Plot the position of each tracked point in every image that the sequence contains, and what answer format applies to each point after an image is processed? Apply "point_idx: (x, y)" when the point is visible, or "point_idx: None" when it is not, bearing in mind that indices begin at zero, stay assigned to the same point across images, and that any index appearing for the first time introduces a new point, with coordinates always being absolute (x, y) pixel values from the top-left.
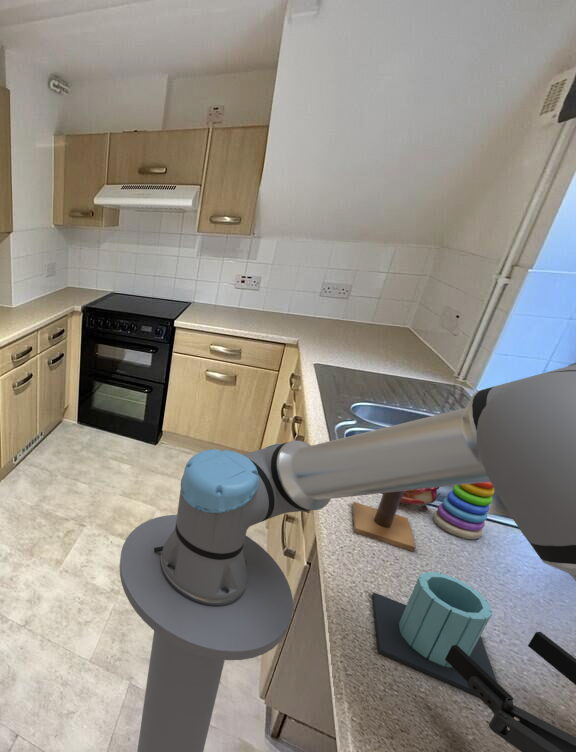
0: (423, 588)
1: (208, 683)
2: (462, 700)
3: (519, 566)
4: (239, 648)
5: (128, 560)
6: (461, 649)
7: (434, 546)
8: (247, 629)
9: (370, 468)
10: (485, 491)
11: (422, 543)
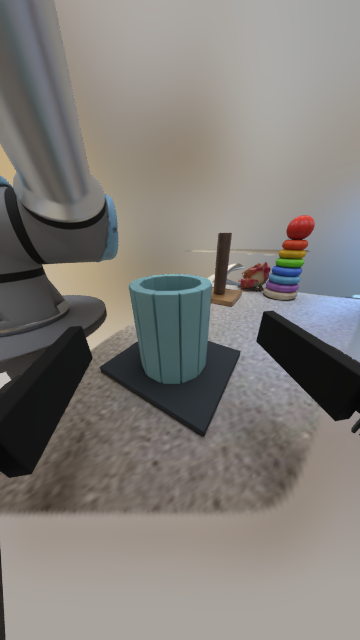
0: (134, 280)
1: None
2: (148, 426)
3: (319, 311)
4: None
5: None
6: (76, 330)
7: (252, 304)
8: None
9: None
10: (296, 252)
11: (243, 303)
